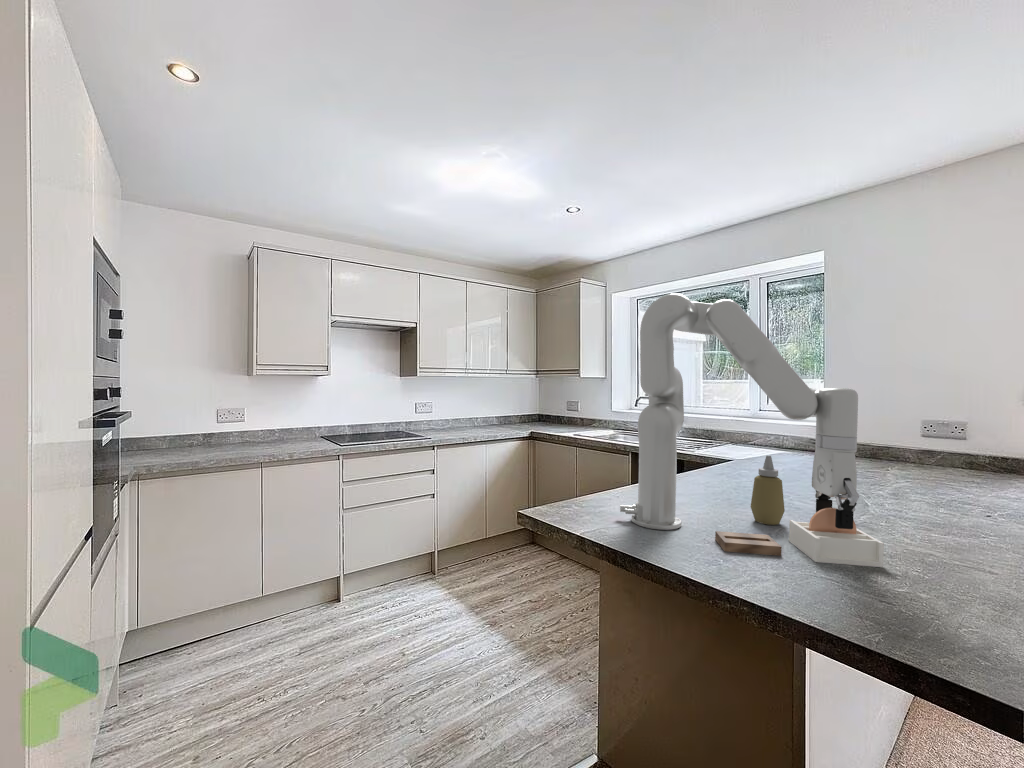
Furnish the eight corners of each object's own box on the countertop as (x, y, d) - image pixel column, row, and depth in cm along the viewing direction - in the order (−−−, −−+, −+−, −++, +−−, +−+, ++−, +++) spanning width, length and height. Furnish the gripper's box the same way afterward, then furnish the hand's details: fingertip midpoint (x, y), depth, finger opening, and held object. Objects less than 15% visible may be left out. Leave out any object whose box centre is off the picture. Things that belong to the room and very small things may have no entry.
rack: (815, 561, 97) (815, 538, 97) (788, 540, 110) (789, 520, 110) (883, 567, 95) (883, 543, 95) (848, 545, 108) (848, 524, 108)
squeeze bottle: (775, 518, 128) (777, 454, 128) (790, 527, 120) (792, 458, 120) (745, 517, 129) (747, 452, 129) (757, 526, 121) (759, 457, 121)
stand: (724, 551, 102) (724, 542, 102) (715, 539, 110) (715, 531, 110) (781, 555, 100) (781, 546, 100) (767, 543, 108) (767, 534, 108)
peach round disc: (837, 557, 102) (865, 527, 101) (802, 531, 103) (830, 501, 102) (834, 555, 103) (862, 525, 102) (800, 529, 104) (827, 499, 103)
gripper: (799, 438, 112) (797, 510, 112) (837, 448, 94) (835, 533, 95) (833, 439, 110) (831, 512, 110) (878, 450, 93) (876, 536, 93)
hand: (833, 521), depth 103 cm, fingers open, 8 cm apart
